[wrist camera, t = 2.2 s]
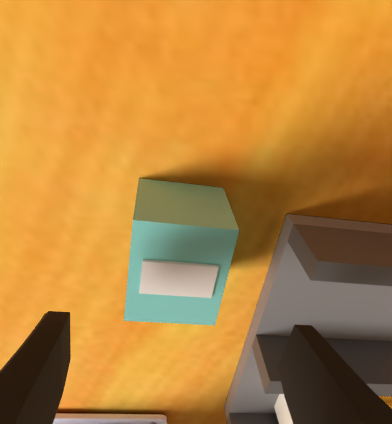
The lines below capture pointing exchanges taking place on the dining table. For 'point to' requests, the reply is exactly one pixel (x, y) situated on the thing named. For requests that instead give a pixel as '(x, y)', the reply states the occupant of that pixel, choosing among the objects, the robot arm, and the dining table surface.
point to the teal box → (179, 253)
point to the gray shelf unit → (319, 309)
